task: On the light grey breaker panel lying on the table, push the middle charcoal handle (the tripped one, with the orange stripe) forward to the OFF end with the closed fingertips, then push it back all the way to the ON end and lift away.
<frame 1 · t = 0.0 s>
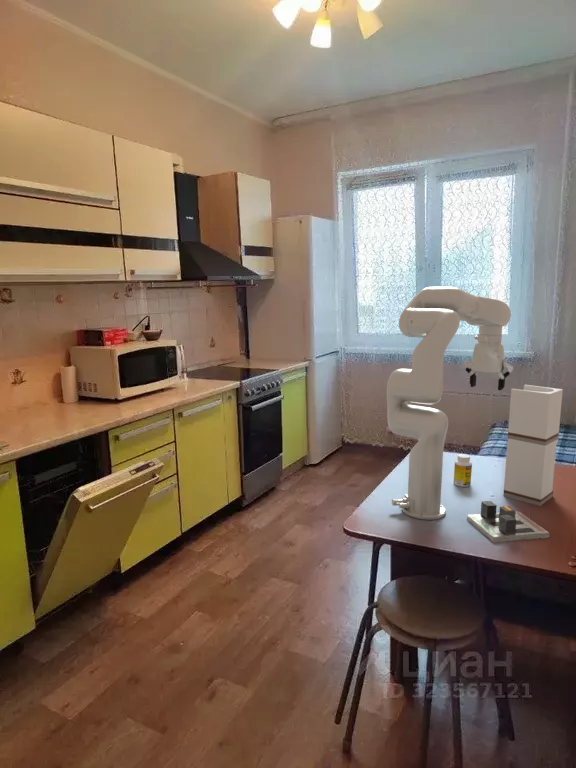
hand: (486, 388, 185), 31 cm above the table, tool pointing down, fingers open, 9 cm apart
supplement bottle: (462, 485, 179), on the table
tripped breaker: (507, 515, 145), point 4 cm above the table, slide at 0.0 cm
tall open white box: (528, 496, 169), on the table
panel: (506, 528, 146), on the table
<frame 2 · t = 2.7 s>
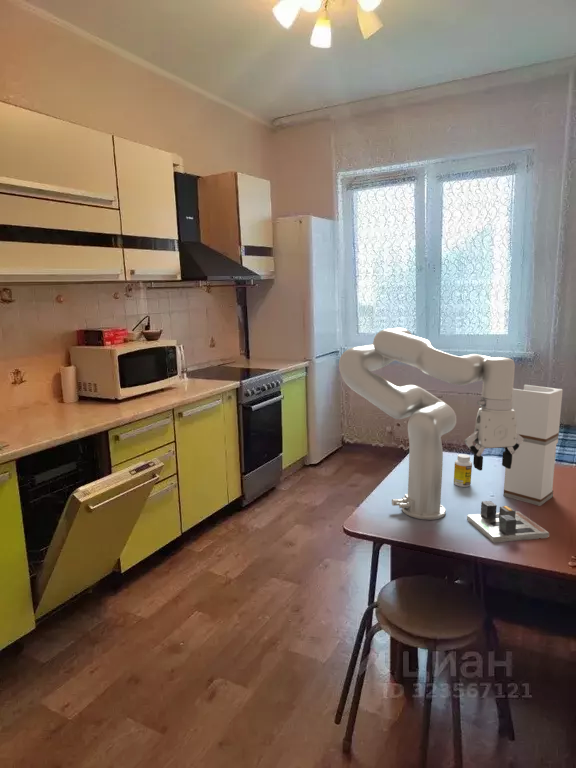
hand: (492, 467, 142), 18 cm above the table, tool pointing down, fingers open, 7 cm apart
nothing on the table moved.
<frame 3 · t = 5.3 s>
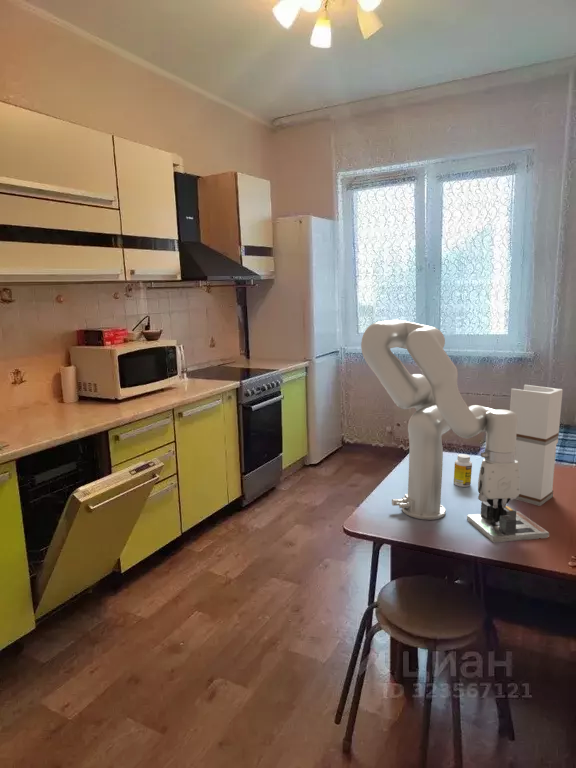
hand: (496, 519, 145), 3 cm above the table, tool pointing down, fingers closed
tripped breaker: (507, 515, 145), point 4 cm above the table, slide at 0.2 cm, touching gripper
everything else where it was.
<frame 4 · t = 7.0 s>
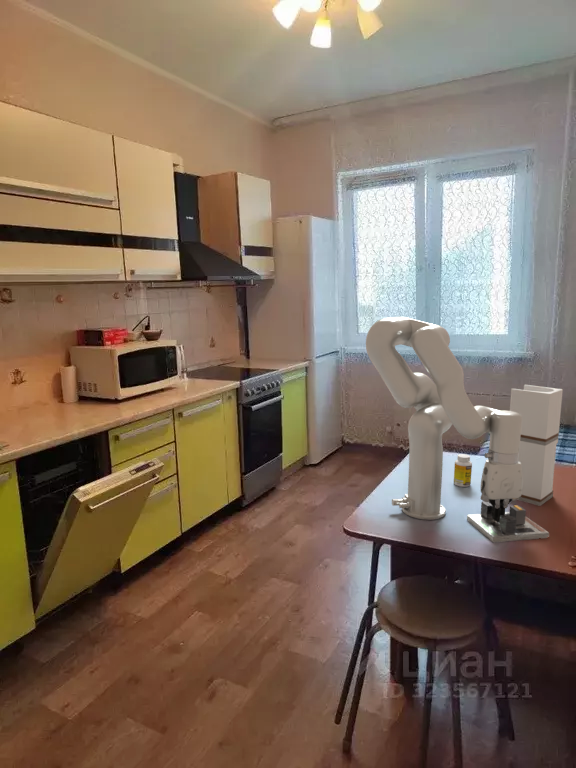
hand: (497, 520, 145), 3 cm above the table, tool pointing down, fingers closed
tripped breaker: (517, 514, 146), point 4 cm above the table, slide at 3.0 cm
everything else where it was.
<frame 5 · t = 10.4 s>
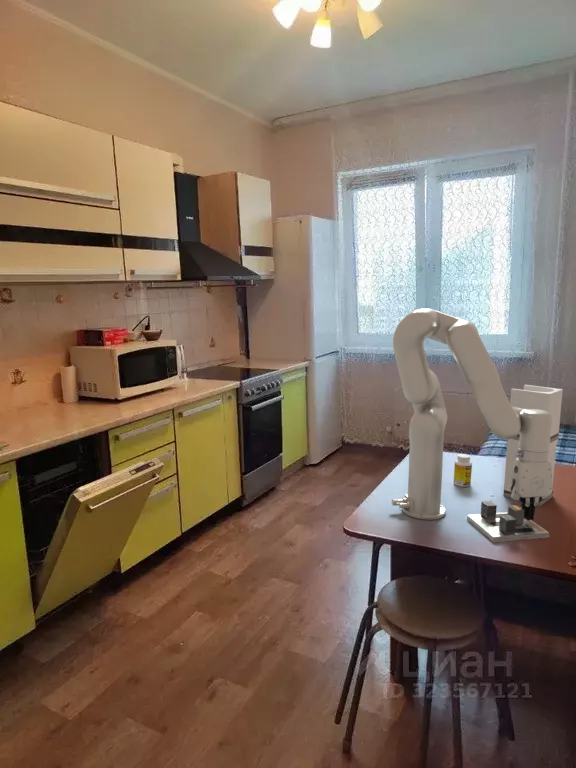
hand: (527, 518, 146), 3 cm above the table, tool pointing down, fingers closed
tripped breaker: (515, 514, 146), point 4 cm above the table, slide at 2.6 cm, touching gripper
everything else where it was.
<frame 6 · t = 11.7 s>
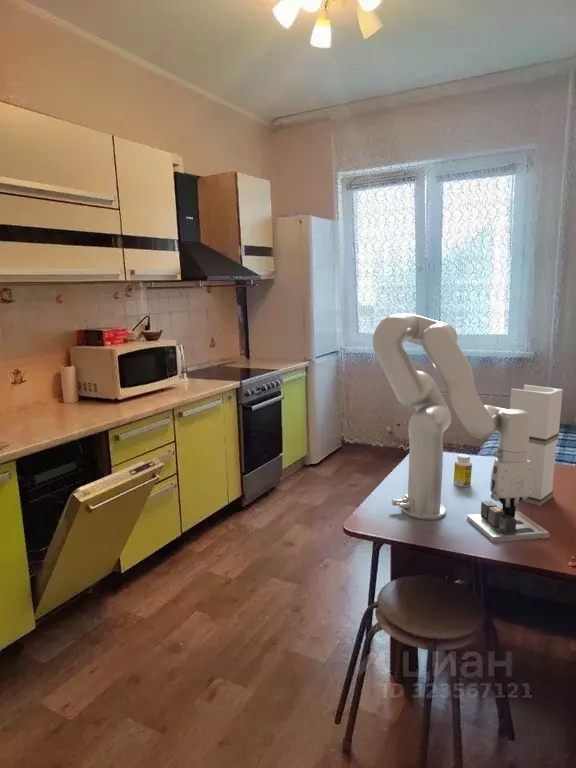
hand: (508, 518, 145), 3 cm above the table, tool pointing down, fingers closed
tripped breaker: (496, 516, 145), point 4 cm above the table, slide at -3.3 cm, touching gripper
everything else where it was.
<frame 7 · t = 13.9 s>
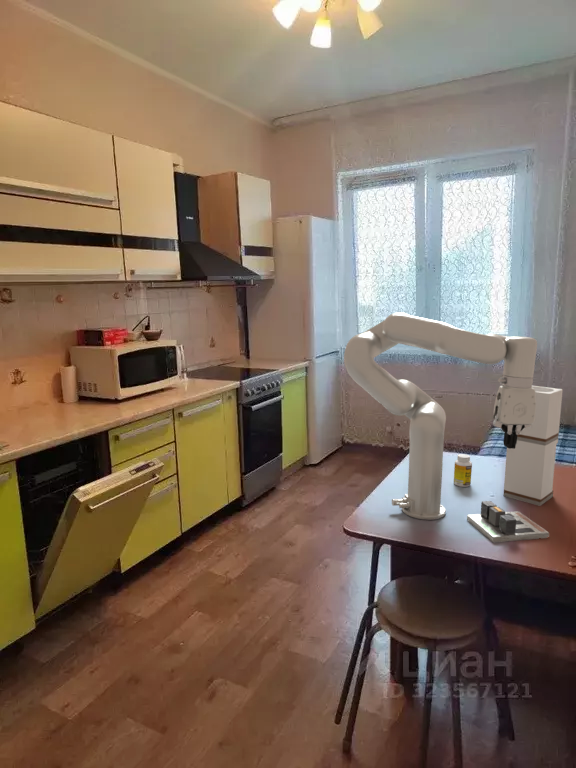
hand: (509, 447, 146), 22 cm above the table, tool pointing down, fingers closed
tripped breaker: (497, 515, 145), point 4 cm above the table, slide at -3.0 cm
everything else where it was.
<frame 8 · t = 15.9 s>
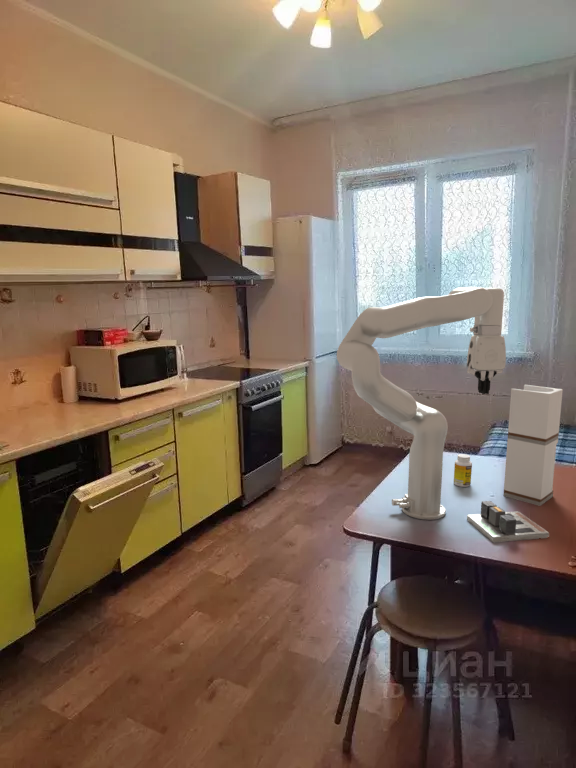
hand: (483, 393, 156), 35 cm above the table, tool pointing down, fingers closed
nothing on the table moved.
at the end: tripped breaker slide at -3.0 cm; tripped breaker touching nothing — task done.
